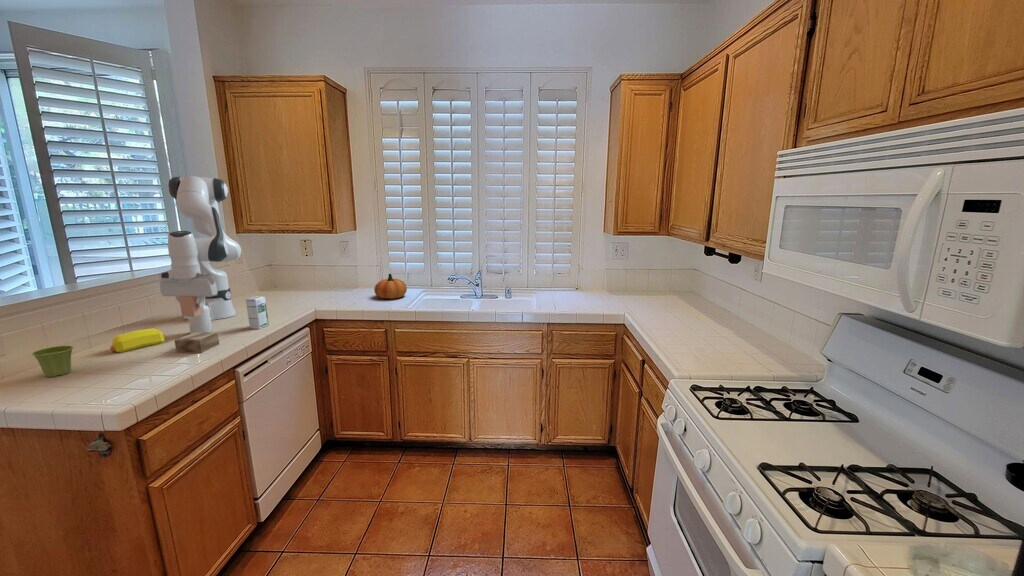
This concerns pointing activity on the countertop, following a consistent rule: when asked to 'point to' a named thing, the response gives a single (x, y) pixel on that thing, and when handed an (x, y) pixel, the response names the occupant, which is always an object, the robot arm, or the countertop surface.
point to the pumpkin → (390, 288)
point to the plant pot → (54, 360)
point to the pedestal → (196, 342)
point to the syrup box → (257, 312)
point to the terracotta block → (190, 306)
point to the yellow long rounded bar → (137, 340)
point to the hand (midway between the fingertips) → (192, 307)
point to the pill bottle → (201, 321)
